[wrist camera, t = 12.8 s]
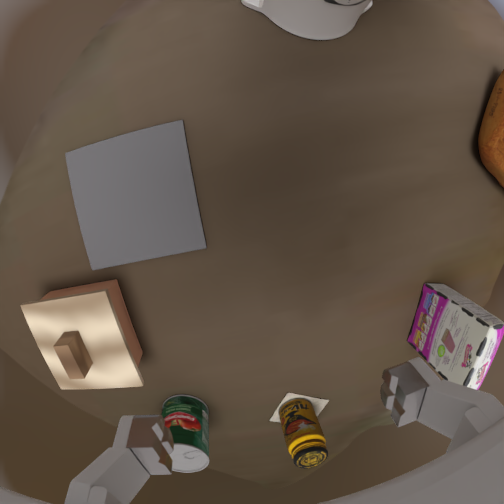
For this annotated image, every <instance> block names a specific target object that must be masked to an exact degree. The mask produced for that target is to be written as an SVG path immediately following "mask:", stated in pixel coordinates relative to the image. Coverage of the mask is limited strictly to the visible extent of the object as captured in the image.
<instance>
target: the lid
mask: <svg viewBox="0 0 504 504" xmlns="http://www.w3.org/2000/svg"><path fill="white" fill-rule="evenodd" d="M20 306H21V308H22V311H23V313H24V315H25V318H26V320H27V323H28V325H29V327H30V329H31V332H32V334H33V336H34V338H35V340H36V342H37V344H38V347H39V349H40V351H41V353H42V355H43V357H44V359H45V361H46V362H47V364H48V366H49V368H50V370H51V372H52V374H53V375H54V377H55V379H56V381H57V383H58V384H59V386H60V388H61V389H104V388H123V387H137V386H144V380H143V378H142V376H141V374H140V371H139V369H138V367H137V365H136V362H135V360H134V358H133V355H132V353H131V350H130V348H129V346H128V343H127V341H126V338H125V336H124V333H123V330H122V328H121V325H120V322H119V320H118V317H117V314H116V312H115V309H114V306H113V303H112V300H111V297H110V294H109V291H108V288H107V289H101V290H96V291H90V292H84V293H79V294H73V295H67V296H61V297H55V298H50V299H44V300H38V301H32V302H26V303H23V304H22V305H20Z"/></svg>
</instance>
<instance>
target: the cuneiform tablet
mask: <svg viewBox="0 0 504 504" xmlns="http://www.w3.org/2000/svg"><path fill="white" fill-rule="evenodd" d="M478 145H479V153H480V157H481V160H482V163H483V164H484V166H485V167H486V169H487V170H488V171H489V172H490V173H491V174H492V175H493V176H494V177H495V178H496V179H497V180H498V181H499V184H500V185H501V186H502V187H503V188H504V70H503V71H502V73H501V74H500V76H499V78H498V80H497V81H496V83H495V86H494V88H493V90H492V93H491V96H490V99H489V101H488V104H487V107H486V111H485V113H484V117H483V121H482V124H481V128H480V132H479V139H478Z"/></svg>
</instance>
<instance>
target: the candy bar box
mask: <svg viewBox="0 0 504 504" xmlns="http://www.w3.org/2000/svg"><path fill="white" fill-rule="evenodd" d="M503 334H504V322H503V321H502V320H500V319H499V318H497V317H496V316H494V315H492V314H491V313H489V312H488V311H486V310H485V309H483V308H482V307H480V306H479V305H477V304H475V303H474V302H472V301H471V300H469V299H468V298H466V297H464V296H463V295H461V294H459V293H458V292H456V291H455V290H453V289H451V288H450V287H448V286H446V285H445V284H441V283H437V284H432V283H424V285H423V289H422V293H421V297H420V301H419V304H418V308H417V312H416V315H415V318H414V322H413V325H412V328H411V332H410V335H409V338H408V341H407V342H408V343H410V345H411V346H412V347H413V348H414V349H415V350H416V351H417V352H418V353H419V354H420V355H421V356H422V357H423V358H424V359H425V360H426V361H427V362H428V363H429V364H430V365H431V366H432V367H433V368H434V369H435V370H436V371H437V372H438V373H439V374H440V375H441V376H442V377H443V378H444V379H445V380H447V381H450V382H453V383H456V384H460V385H463V386H466V387H469V388H472V389H476V390H478V389H479V388H480V386H481V384H482V382H483V380H484V378H485V375H486V374H487V372H488V369H489V367H490V365H491V363H492V361H493V359H494V356H495V354H496V352H497V349H498V347H499V344H500V342H501V339H502V337H503Z"/></svg>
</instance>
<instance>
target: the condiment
mask: <svg viewBox="0 0 504 504" xmlns="http://www.w3.org/2000/svg"><path fill="white" fill-rule="evenodd" d="M328 401H329V400H324V399H318V398H313V397H308V396H303V395H298V394H293V393H287V394H286V396H285V398H284V399H283V400H282V402H281V403H280V405H279V406H278V408H277V410H276V411H275V413H274V414H273V416H272V418H271V419H270V420H269V421H274V422H280V423H281V425H282V430H283V433H284V437H285V440H286V441H285V442H286V445H287V448H288V451H289V453H290V454H291V455H292V458H293V460H294V464H295V465H296V466H297V467H300V468H312V467H315V466H317V465H319V464H321V463H322V462H324V461H325V460H326V458H327V457H328V451H327V450H326V446H325V443H326V441H325V437H324V434H323V432H322V429H321V427H320V424H319V421H318V419H317V416H318V415H319V413H320V412H321V411H322V410H323V408H324V407H325V405H326V404H327V403H328ZM312 405H313V406H314V407H313V406H312Z"/></svg>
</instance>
